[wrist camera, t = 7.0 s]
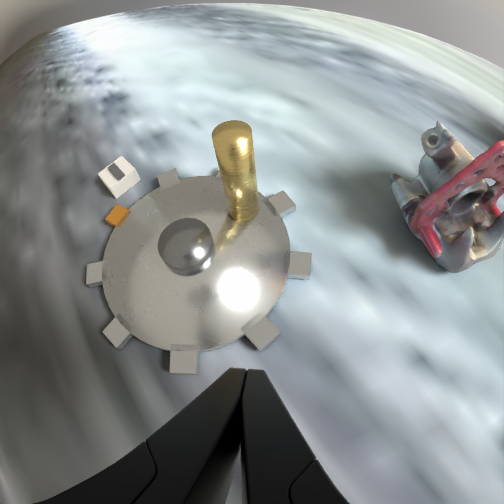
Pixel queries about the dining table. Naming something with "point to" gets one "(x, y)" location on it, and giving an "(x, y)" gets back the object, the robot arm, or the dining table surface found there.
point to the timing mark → (119, 176)
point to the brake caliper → (454, 200)
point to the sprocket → (199, 259)
